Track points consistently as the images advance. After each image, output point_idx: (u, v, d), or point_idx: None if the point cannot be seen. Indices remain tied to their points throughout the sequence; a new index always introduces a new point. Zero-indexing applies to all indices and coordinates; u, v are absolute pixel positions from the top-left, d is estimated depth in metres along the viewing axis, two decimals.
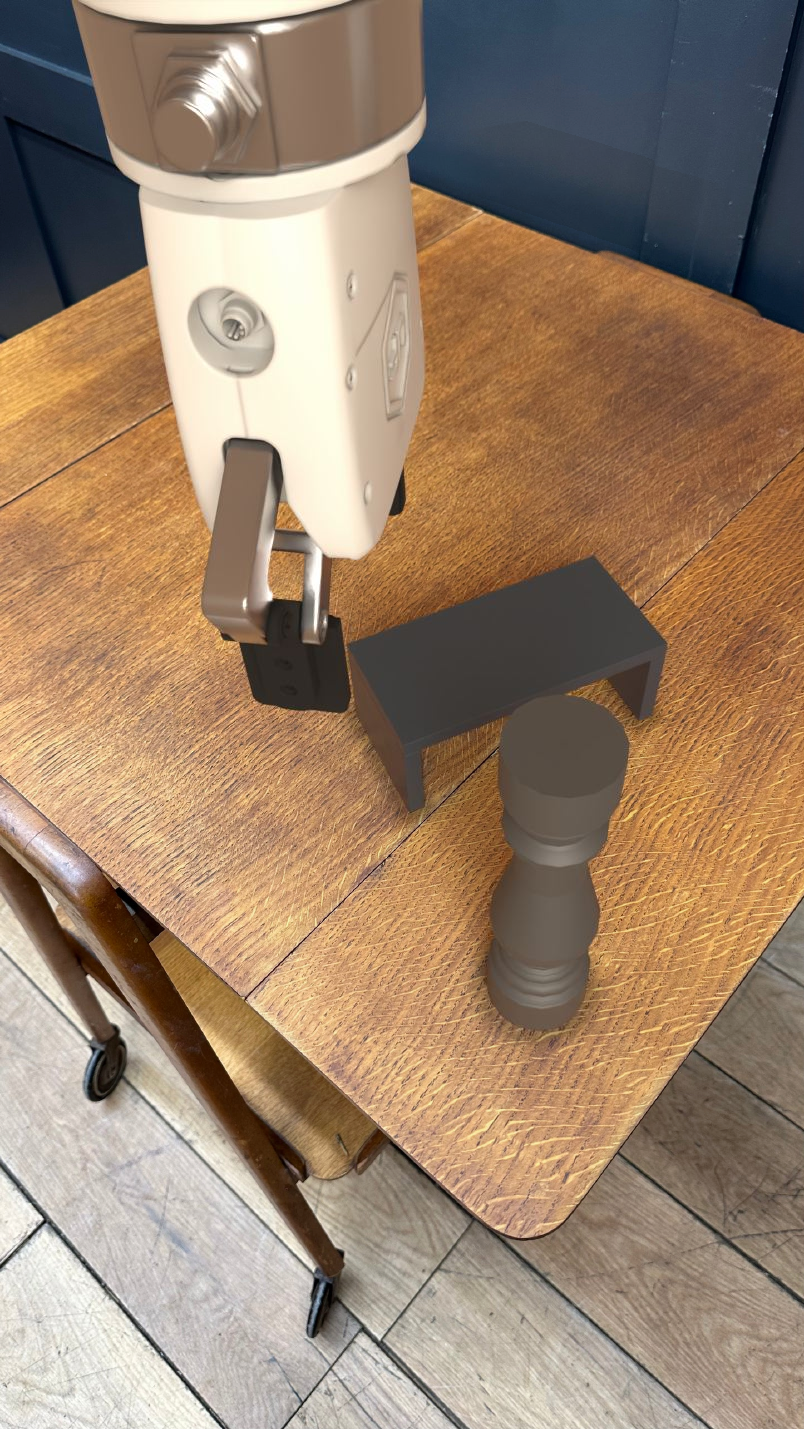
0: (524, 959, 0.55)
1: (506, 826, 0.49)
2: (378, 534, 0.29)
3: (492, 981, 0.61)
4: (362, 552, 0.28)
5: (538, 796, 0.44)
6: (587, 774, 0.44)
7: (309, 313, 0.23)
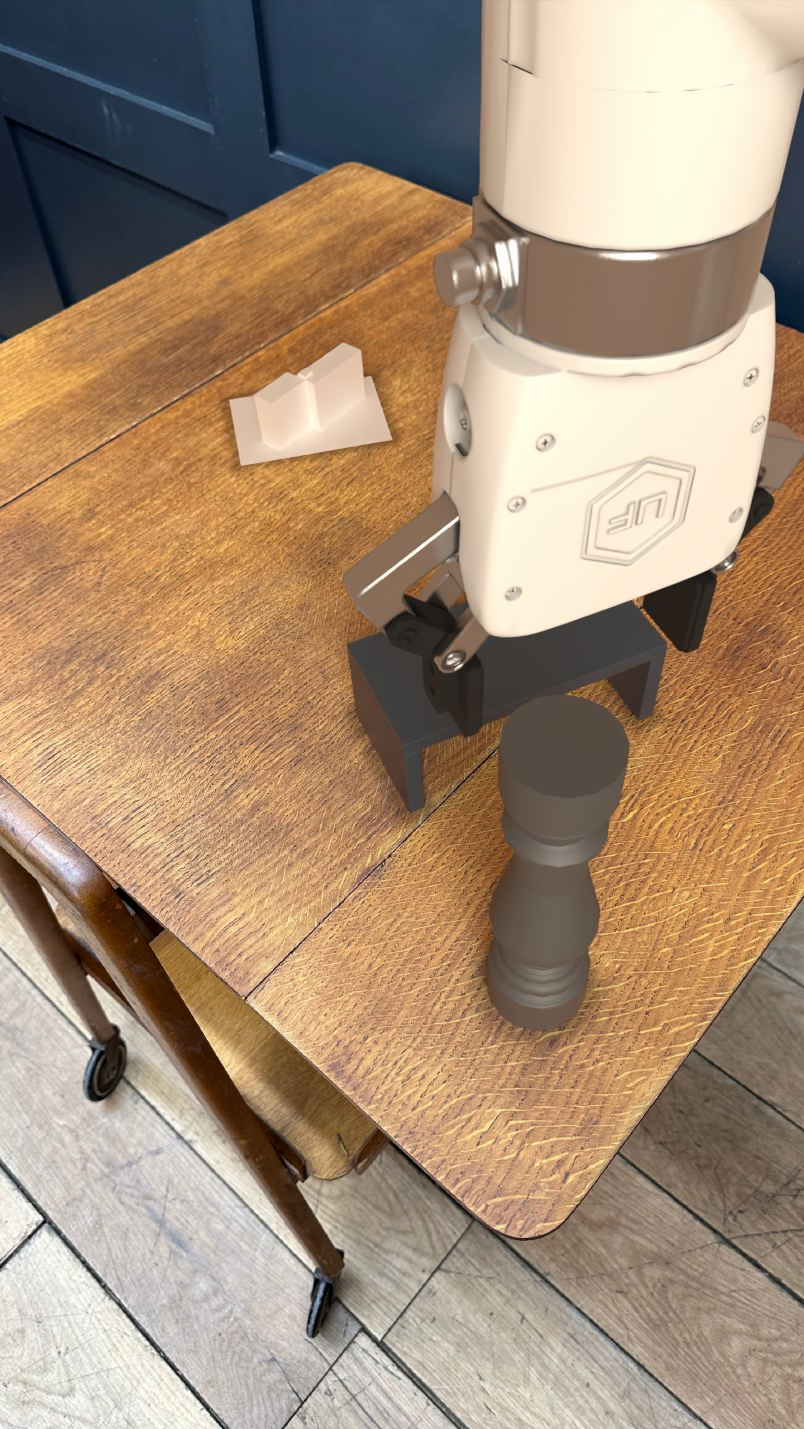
0: (524, 959, 0.55)
1: (506, 826, 0.49)
2: (523, 631, 0.34)
3: (492, 981, 0.61)
4: (493, 631, 0.33)
5: (538, 796, 0.44)
6: (587, 774, 0.44)
7: (493, 441, 0.28)
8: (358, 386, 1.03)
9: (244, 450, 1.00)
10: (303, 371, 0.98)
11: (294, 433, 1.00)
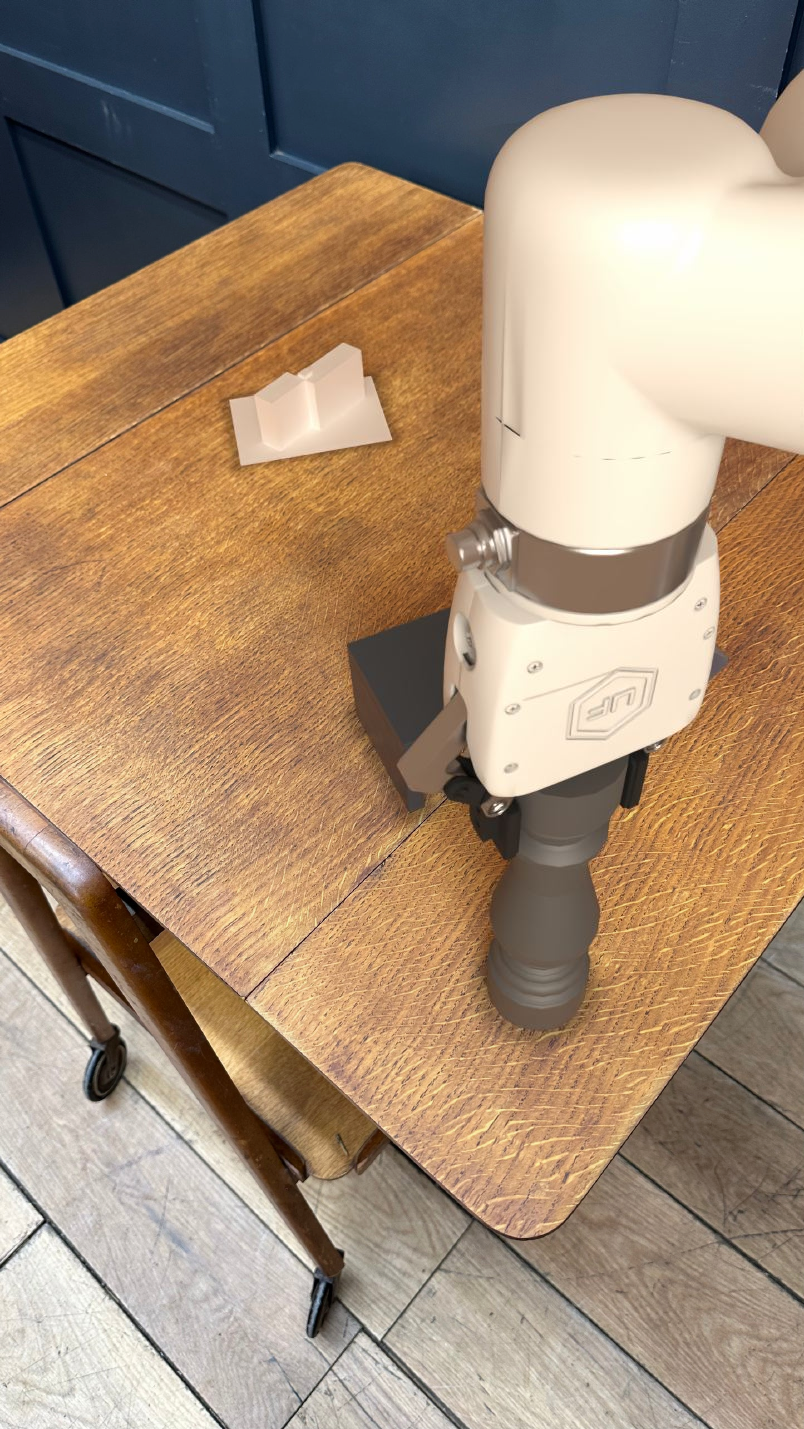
0: (524, 959, 0.55)
1: None
2: (519, 792, 0.41)
3: (492, 981, 0.61)
4: (495, 794, 0.41)
5: (539, 796, 0.44)
6: (588, 773, 0.44)
7: (493, 665, 0.35)
8: (358, 386, 1.03)
9: (244, 450, 1.00)
10: (303, 371, 0.98)
11: (294, 433, 1.00)
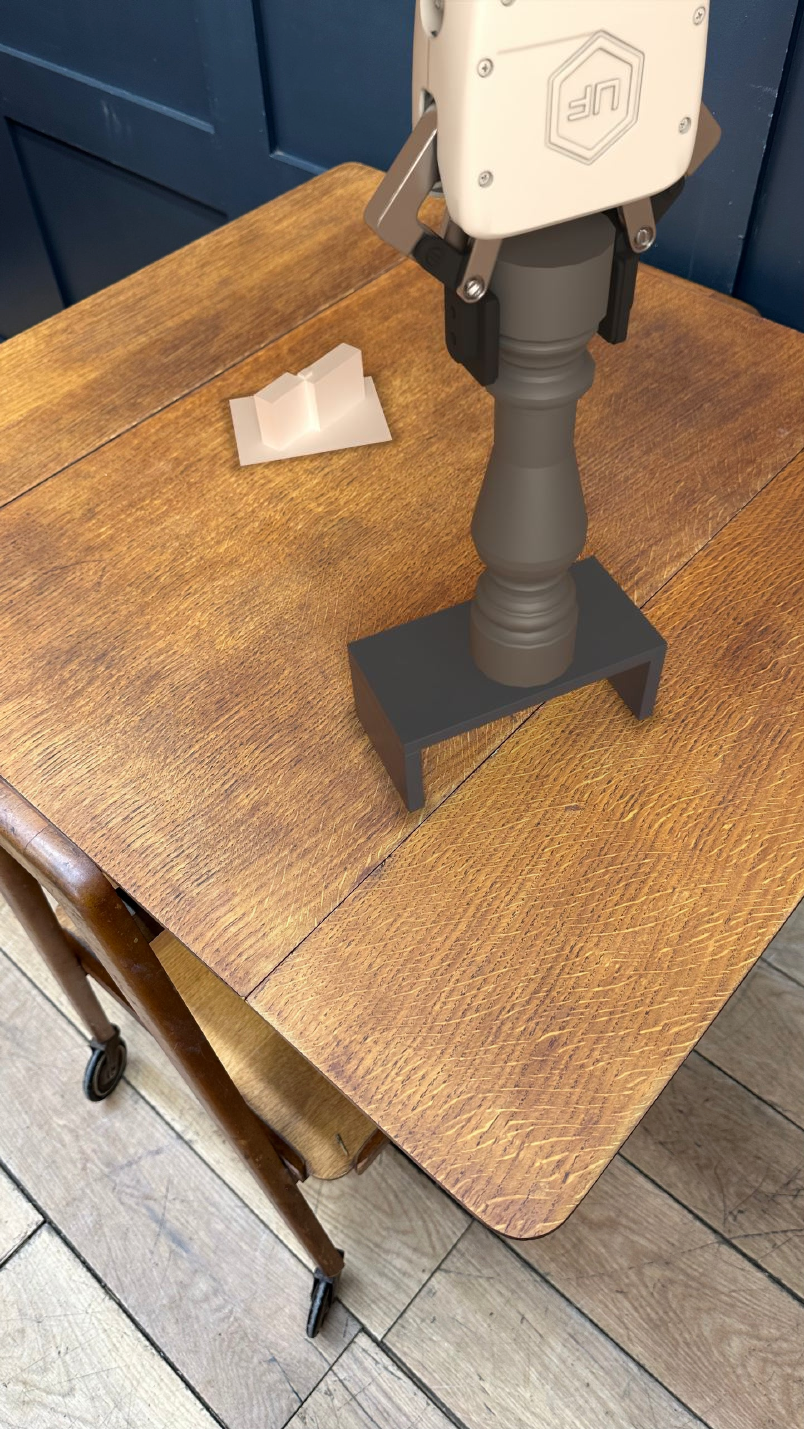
0: (508, 565, 0.52)
1: None
2: (496, 228, 0.37)
3: (475, 629, 0.58)
4: (469, 227, 0.37)
5: (518, 272, 0.40)
6: (571, 251, 0.41)
7: None
8: (358, 386, 1.03)
9: (244, 450, 1.00)
10: (303, 371, 0.98)
11: (294, 434, 1.00)
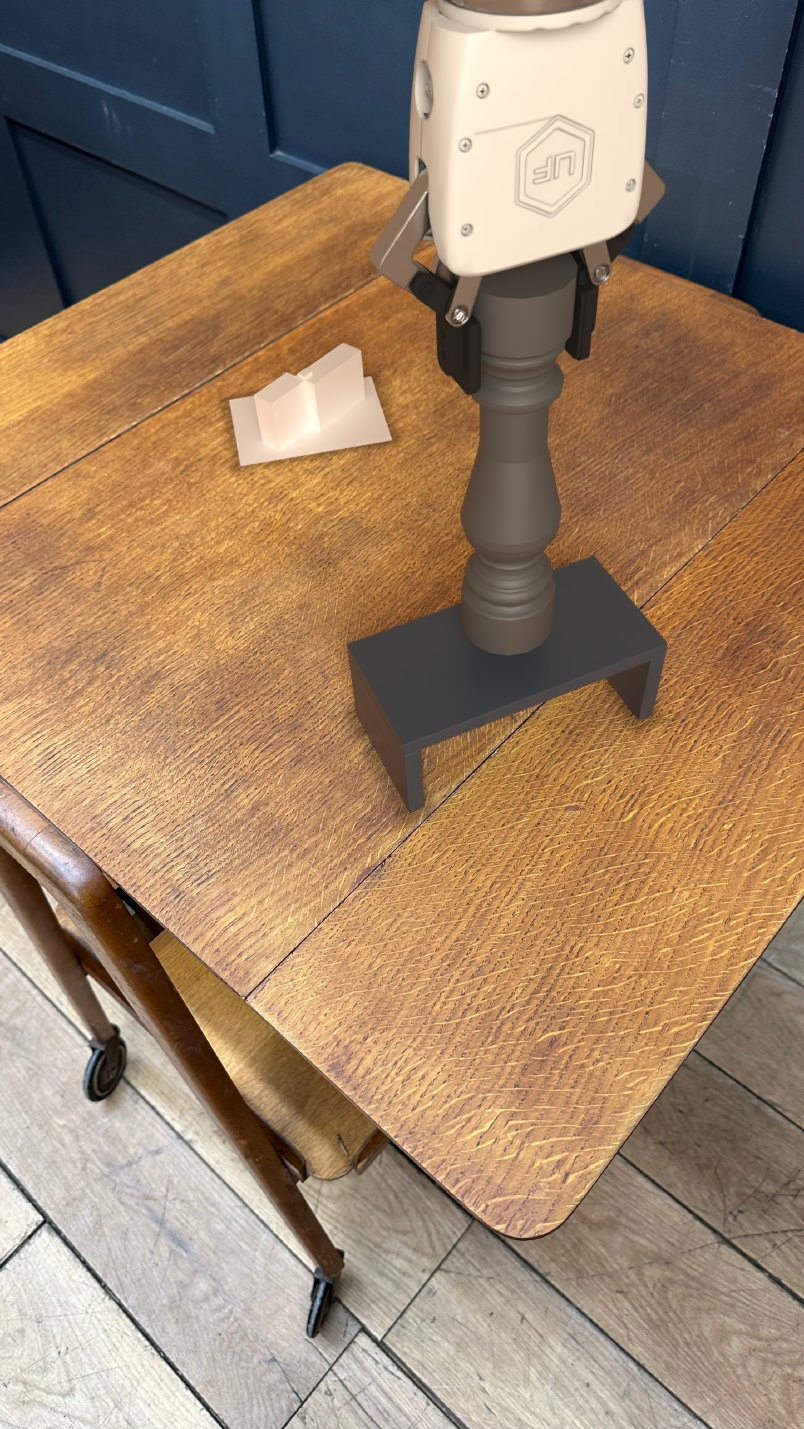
0: (491, 546, 0.61)
1: None
2: (476, 268, 0.46)
3: (465, 603, 0.67)
4: (454, 267, 0.46)
5: (495, 301, 0.49)
6: (539, 284, 0.49)
7: (447, 91, 0.41)
8: (358, 386, 1.03)
9: (244, 450, 1.00)
10: (303, 371, 0.98)
11: (294, 434, 1.00)
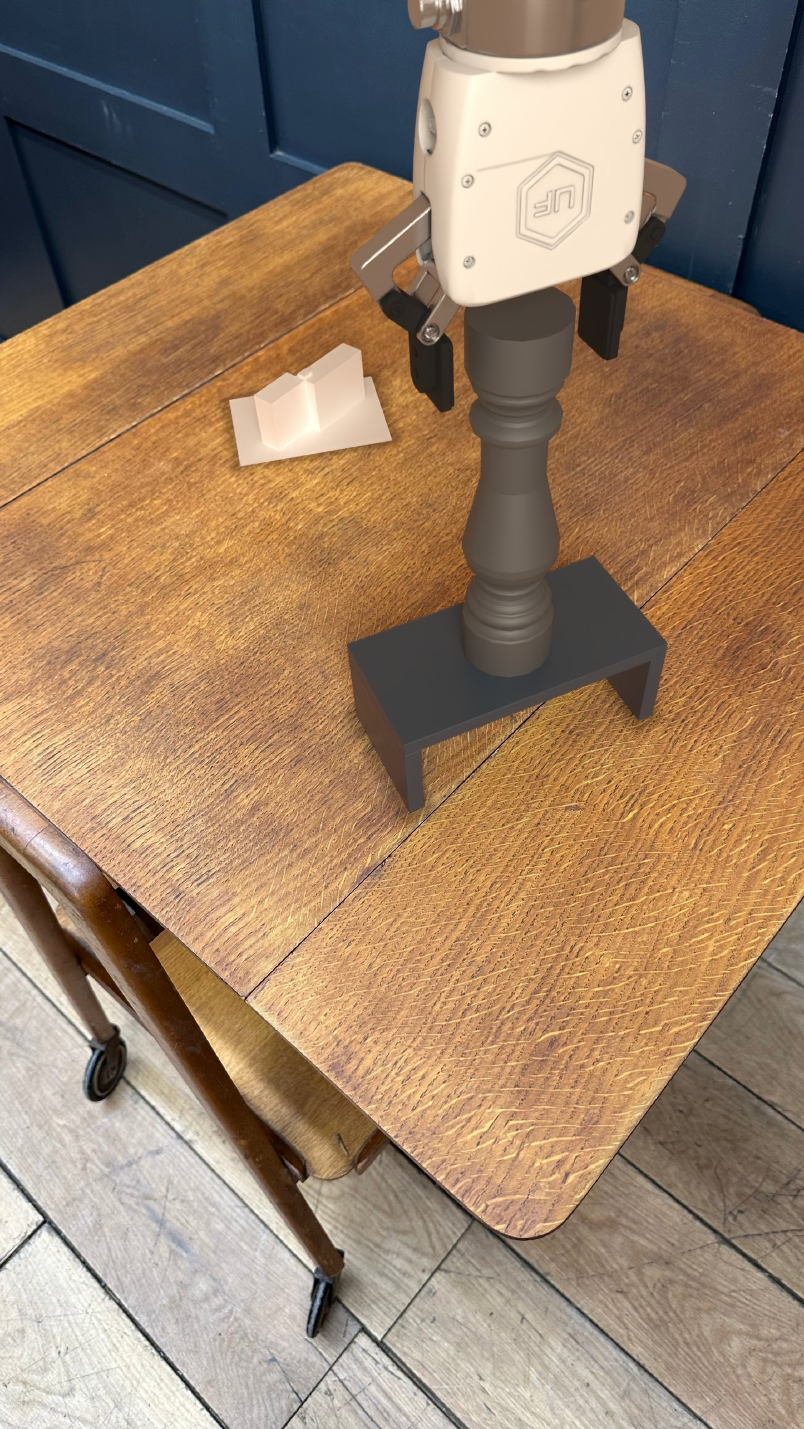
0: (492, 574, 0.63)
1: (473, 416, 0.57)
2: (478, 299, 0.47)
3: (466, 627, 0.69)
4: (456, 298, 0.47)
5: (497, 343, 0.51)
6: (539, 327, 0.51)
7: (450, 130, 0.42)
8: (358, 386, 1.03)
9: (244, 450, 1.00)
10: (303, 371, 0.98)
11: (294, 434, 1.00)
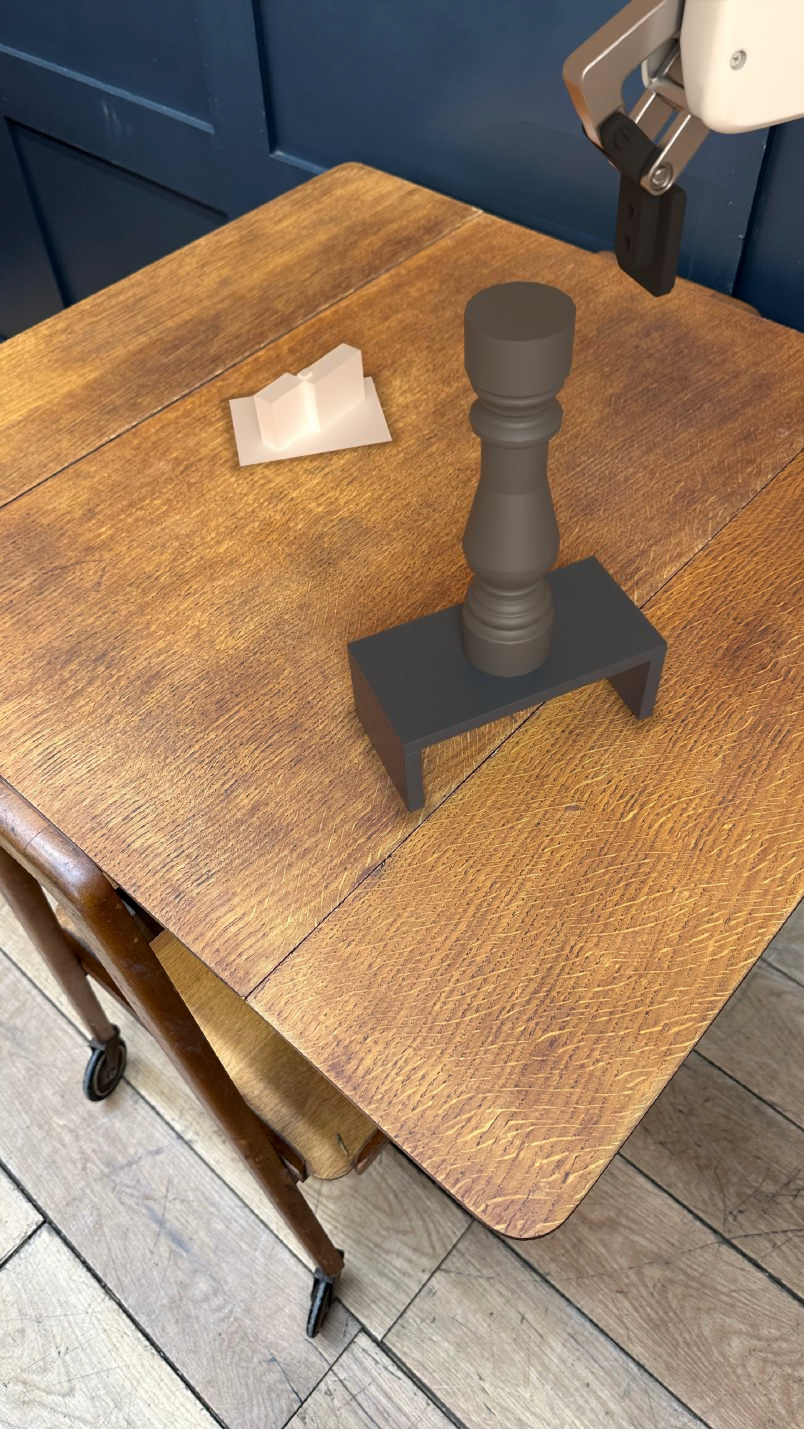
0: (492, 574, 0.63)
1: (473, 416, 0.57)
2: (740, 119, 0.34)
3: (466, 627, 0.69)
4: (712, 117, 0.34)
5: (497, 343, 0.51)
6: (539, 327, 0.51)
7: None
8: (358, 387, 1.03)
9: (244, 450, 1.00)
10: (303, 371, 0.98)
11: (294, 434, 1.00)
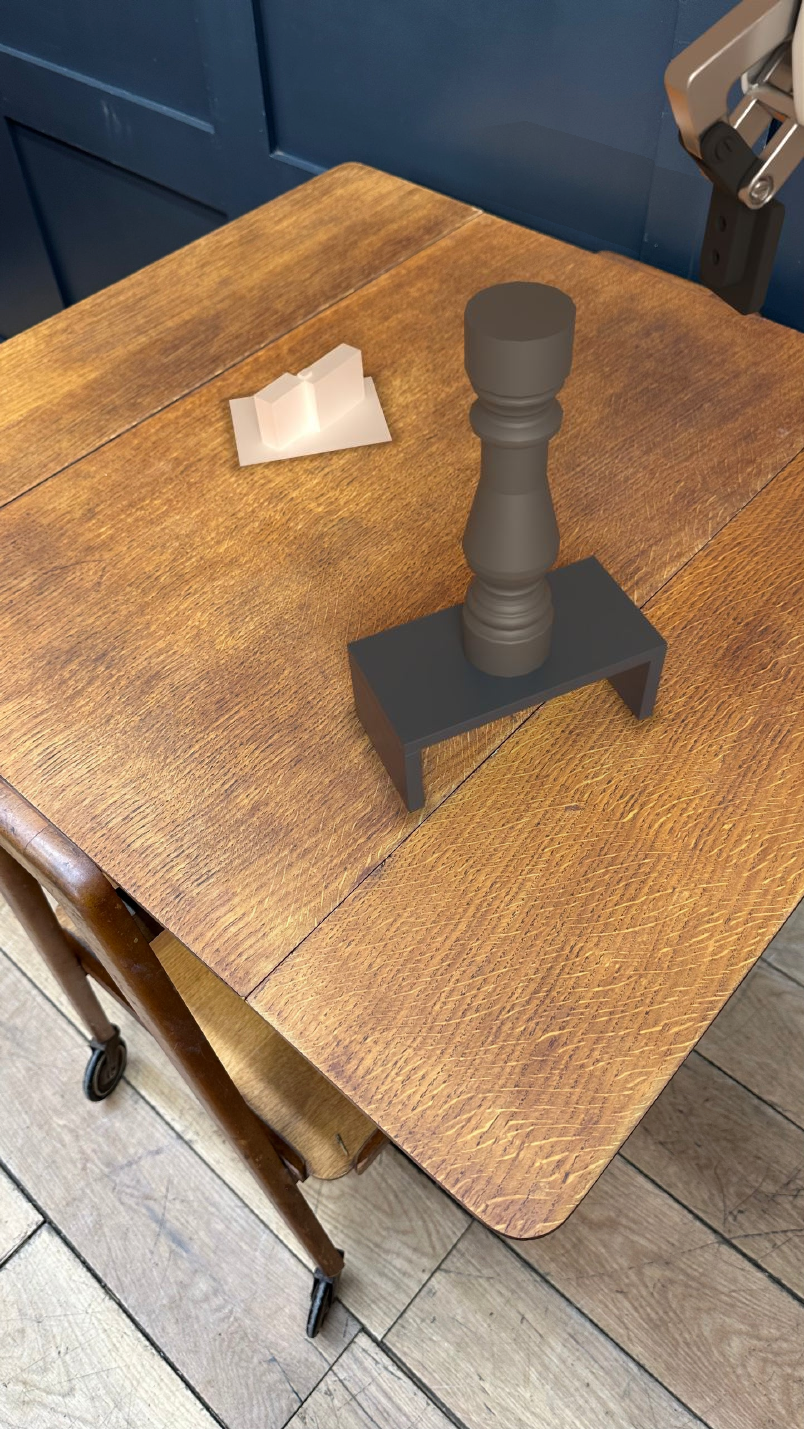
0: (492, 574, 0.63)
1: (473, 416, 0.57)
2: None
3: (466, 627, 0.69)
4: None
5: (497, 343, 0.51)
6: (539, 327, 0.51)
7: None
8: (358, 387, 1.03)
9: (244, 450, 1.00)
10: (303, 371, 0.98)
11: (294, 434, 1.00)
